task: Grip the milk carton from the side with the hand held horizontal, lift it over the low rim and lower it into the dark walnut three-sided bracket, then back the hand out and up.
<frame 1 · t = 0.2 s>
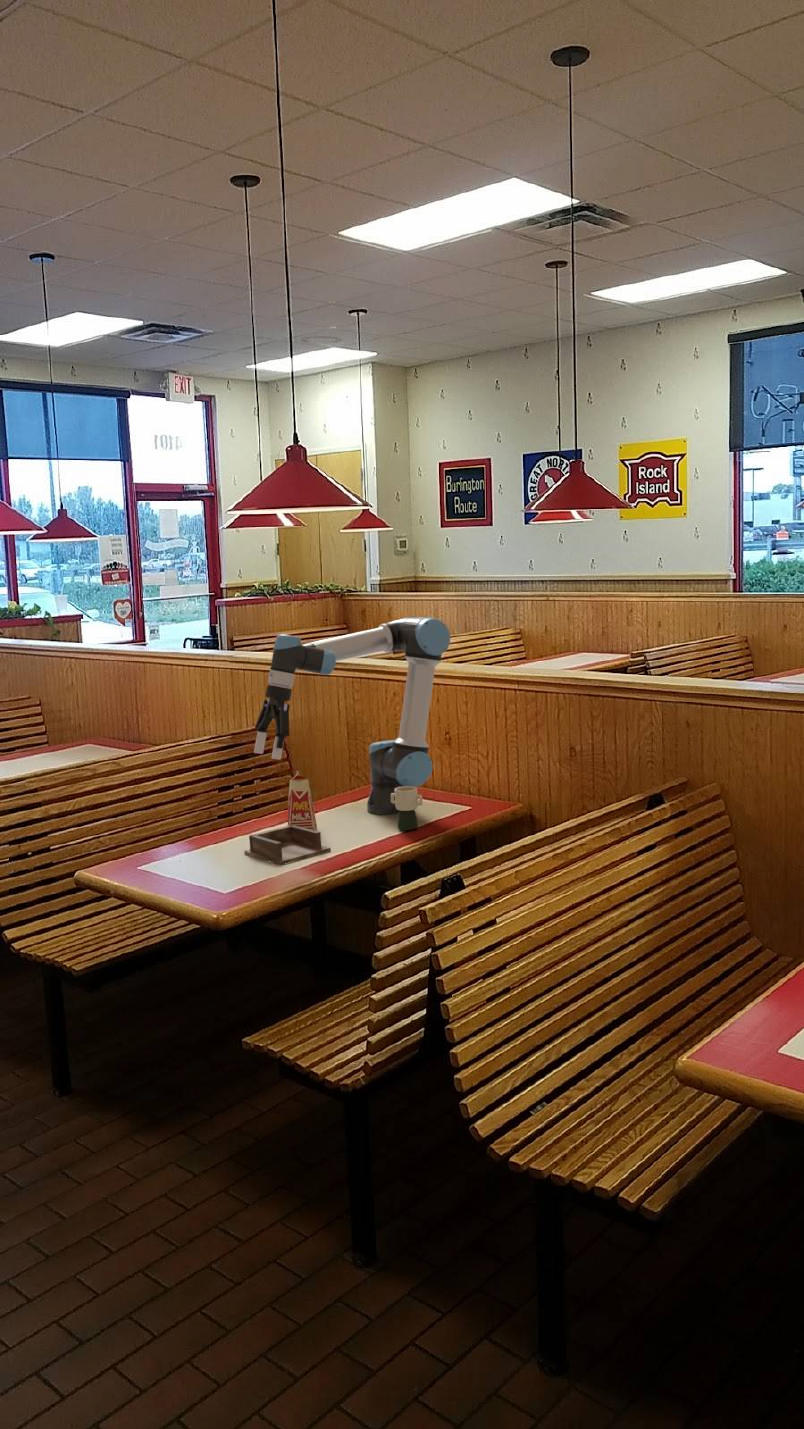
hand: (266, 756, 330), 27 cm above the table, tool tilted 15°, fingers open, 13 cm apart
milk carton: (302, 832, 346), on the table
carton bracket: (287, 852, 323), on the table
character mug: (408, 830, 342), on the table
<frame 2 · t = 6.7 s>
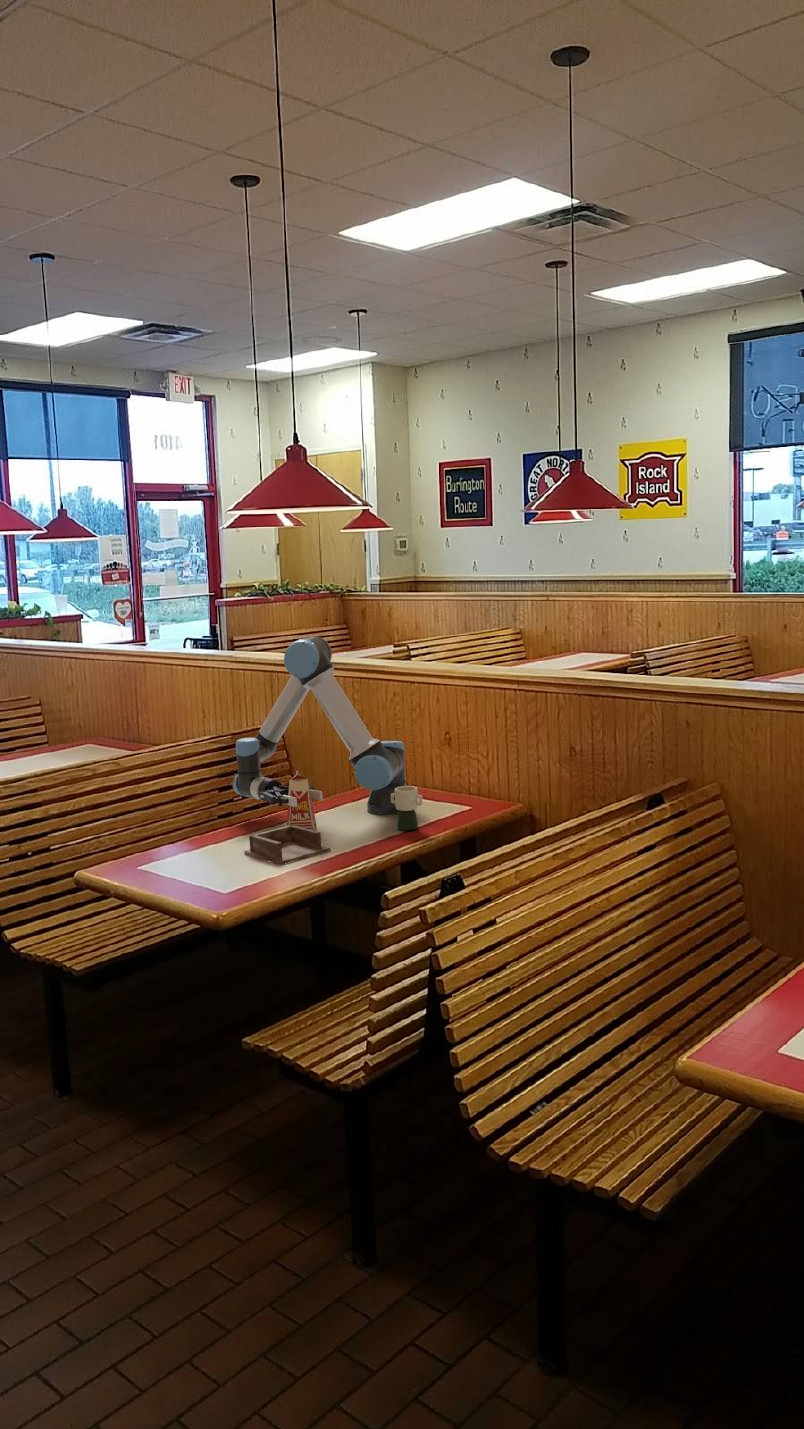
hand: (308, 799, 341), 11 cm above the table, tool horizontal, fingers closed on milk carton, 9 cm apart
milk carton: (302, 832, 346), on the table, touching gripper
everything else where it was.
when the fingers open (15 cm above the table, at t = 11.3 s): milk carton drops 2 cm, resting on carton bracket.
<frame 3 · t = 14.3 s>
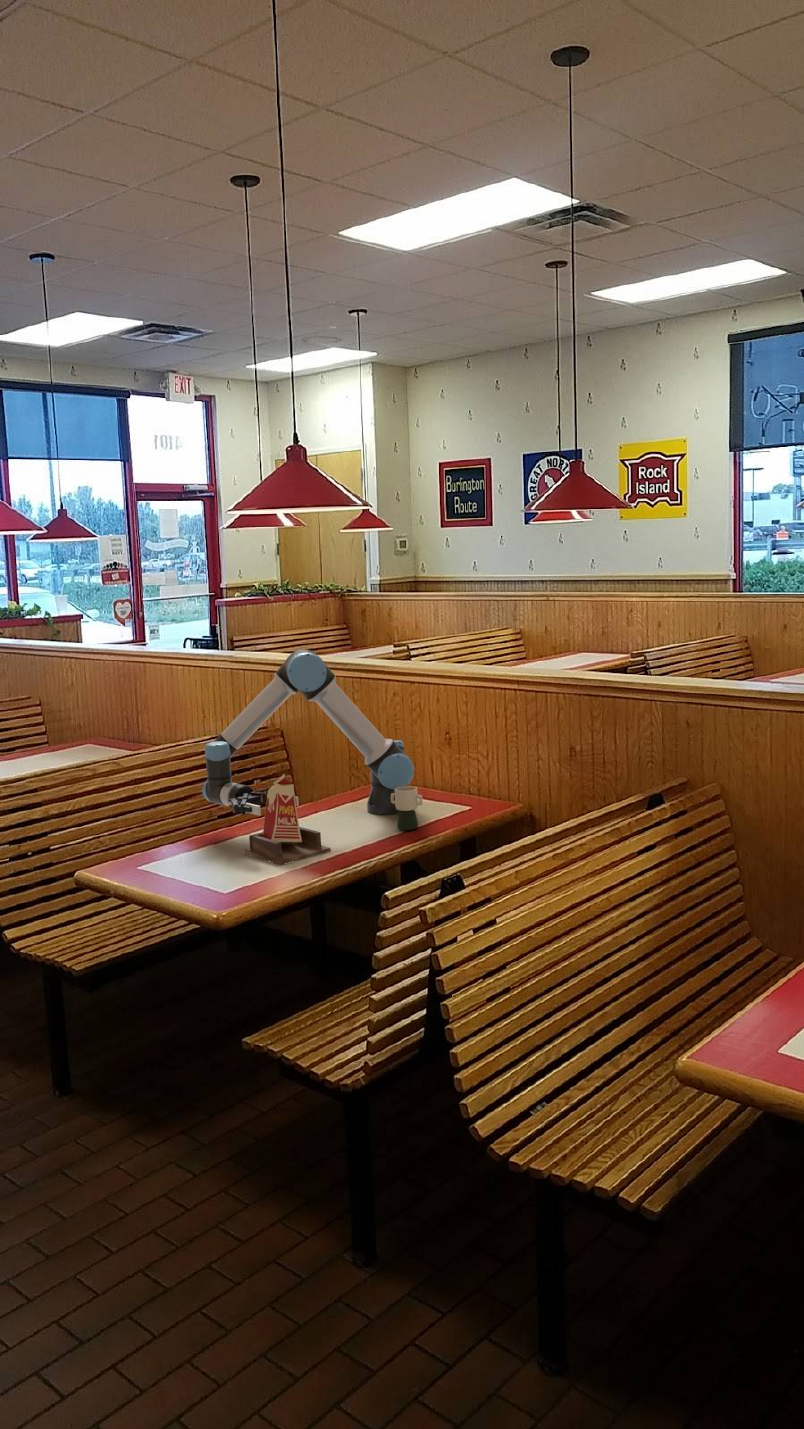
hand: (278, 806, 322), 14 cm above the table, tool horizontal, fingers open, 13 cm apart
milk carton: (281, 843, 323), point 3 cm above the table, touching carton bracket
everything else where it was.
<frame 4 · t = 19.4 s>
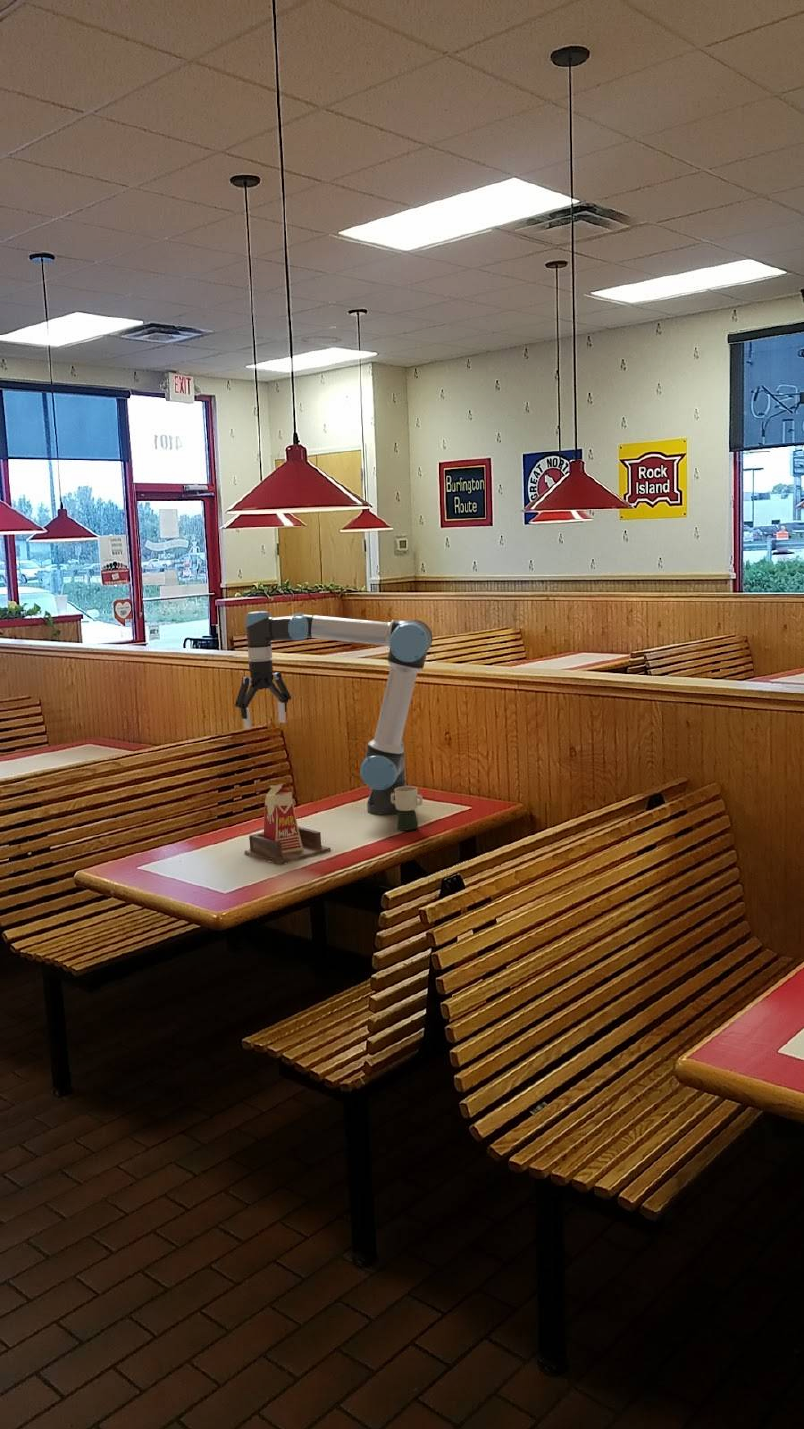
hand: (265, 725, 356), 32 cm above the table, tool pointing down, fingers open, 13 cm apart
milk carton: (282, 849, 323), point 1 cm above the table, touching carton bracket
everything else where it was.
at the end: milk carton 1.4 cm off-centre on the carton bracket, point 0.8 cm above the carton bracket's base; milk carton tilted 0°; the gripper is holding nothing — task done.
